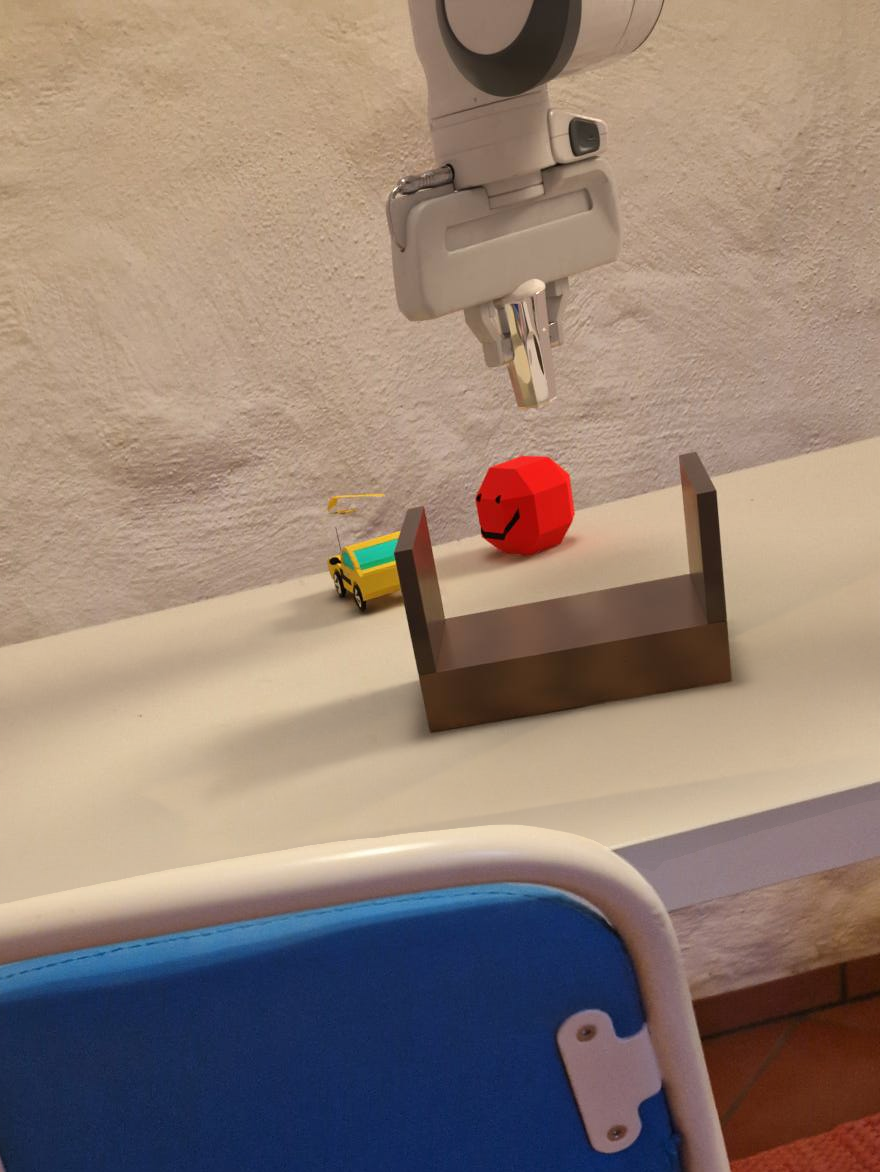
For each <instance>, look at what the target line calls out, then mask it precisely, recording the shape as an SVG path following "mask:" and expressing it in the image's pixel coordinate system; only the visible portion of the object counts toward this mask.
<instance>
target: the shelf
mask: <svg viewBox="0 0 880 1172" xmlns="http://www.w3.org/2000/svg"><path fill="white" fill-rule="evenodd" d="M678 462H679V472H680V473H679V474H680V482H681V494H682V495H681V496H682V503H683V515H684V527H685V535H686V536H685V539H686V547H687V549H686V550H687V558H688V570H689V573H687V574H686V573H685V574H681V575H676V576H670V577H665V578H660V579H654V580H648V581H643V582H638V583H631V584H627V585H626V584H625V585H621V586H614V587H610V588H604V589H599V590H594V591H587V592H583V593H577V594H572V595H566V596H562V597H561V596H560V597H556V598H551V599H545V600H540V601H534V602H530V603H523V604H518V605H512V606H506V607H502V608H497V609H491V610H486V611H480V612H479V611H478V612H474V613H468V614H463V615H457V616H452V617H447V618H446V616H445V610H444V606H443V605H444V604H443V600H442V595H441V588H440V585H439V584H440V583H439V578H438V572H437V567H436V563H435V558H434V557H435V556H434V552H433V551H434V550H433V545H432V541H431V536H430V530H429V526H428V520H427V514H426V509H425V505H421V506H416V507H411V508H407V510H406V512H405V516H404V519H403V522H402V526H401V528H400V530H399V531H400V535H399V538H398V541H397V544H396V547H395V550H394V557H395V562H396V567H397V572H398V577H399V582H400V587H401V590H400V591H401V595H402V601H403V607H404V611H405V616H406V620H407V625H408V631H409V636H410V641H411V645H412V650H413V655H414V656H413V657H414V660H415V666H416V671H417V675H418V681H419V685H420V691H421V695H422V700H423V704H424V708H425V709H424V710H425V715H426V720H427V725H428V730H429V732H430V733H433V732H439V731H445V730H450V729H457V728H462V727H469V726H474V725H480V724H486V723H492V722H498V721H504V720H510V719H516V718H522V717H526V716H527V717H528V716H533V715H539V714H546V713H552V712H556V711H562V710H568V709H569V710H570V709H574V708H575V709H576V708H580V707H587V706H592V705H597V704H604V703H611V702H615V701H621V700H626V699H627V700H629V699H632V698H640V697H645V696H651V695H656V694H657V695H658V694H662V693H668V692H673V691H674V692H675V691H681V690H687V689H691V688H698V687H703V686H711V685H716V684H722V683H727V682H732V680H733V679H732V678H733V675H732V664H731V652H730V651H731V650H730V641H729V627H728V617H727V615H728V614H727V603H726V591H725V590H726V589H725V579H724V566H723V565H724V564H723V554H722V553H723V552H722V541H721V528H720V527H721V526H720V515H719V505H718V503H719V502H718V491H717V488H716V487H715V485H714V483H713V481H712V479H711V477H710V475H709V473H708V471H707V470H706V467H705V465H704V464H703V461H702V460H701V458H700V456H699V454H698V452H697V451H692V452H688V453H682V454H679V455H678Z"/></svg>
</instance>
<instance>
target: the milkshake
mask: <svg viewBox="0 0 880 1172" xmlns="http://www.w3.org/2000/svg"><path fill="white" fill-rule="evenodd" d="M494 306H495V313H496V315H495V317H492V318H491V321H492V323H493V324H494V326H495V328H496V329H497V331H498V333H499V334H500V336H501V338H509V337H510V338H511V345H512V348H511V351H512V352H513V361H512V362H510V363H507V364H505V366H506V369H507V372H508V376H509V379H510V383H511V387H512V391H513V394H514V397H515V401H516V404H517V407H518V409H519V410H528V409H534V408H538V407H541V406H544V405H547V404H550V403H551V402H554V401H555V400H557V399H558V392H557V382H556V375H555V368H554V367H555V366H554V360H553V352H552V348H551V343H550V335H549V320H548V309H547V299H546V290H545V284H544V282H542V281H540V280H538V279H531V280H529V281H527V282H525V283H523V284H522V285H520V286H519V287H518V288H517V289H516V290H515V291H514V292H513V293H512V294H510V295H508V296H505V297H501V298H498V299H495V300H494Z"/></svg>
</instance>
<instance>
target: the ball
mask: <svg viewBox="0 0 880 1172" xmlns="http://www.w3.org/2000/svg"><path fill="white" fill-rule="evenodd" d="M571 483H572V481H571V475H570V473H569V472H568V471H566V470H565V469H564V468H562V466H561V465H559V464H558V463H557V462H555V461H554V460H553V459H552V458H551V457H550V456H540V455H539V456H536V455H520V456H517V457H514V458H512V459H509V460H507V461H506V460H505V461H503V462H500V463H498V464H495V465H492V466H490V467H488V470H487V471H486V473H485V476H484V478H483V480H482V482H481V484H480V487H479V489H478V491H477V493H476V495H475V497H474V500H475V506H476V511H477V512H476V513H477V517H478V523H479V526H480V535H481V538H482V539H483V540H485V541H487V542H488V543H489V544H490V545H491V546H493V548H494V547H495V549H498V551H500V552H501V553H502V554H508V555H516V556H523V557H530V556H533V555H535V554H539V553H540V552H543V551H546V550H548V549H550V548H553V547H555V546H558V545H560V544H562V543H563V540H564V538H565V536H566V534H567V533H568V531H569V529H570V527H571V525H572V524H573V521H574V518H575V505H574V498H573V488H572V484H571Z"/></svg>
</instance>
